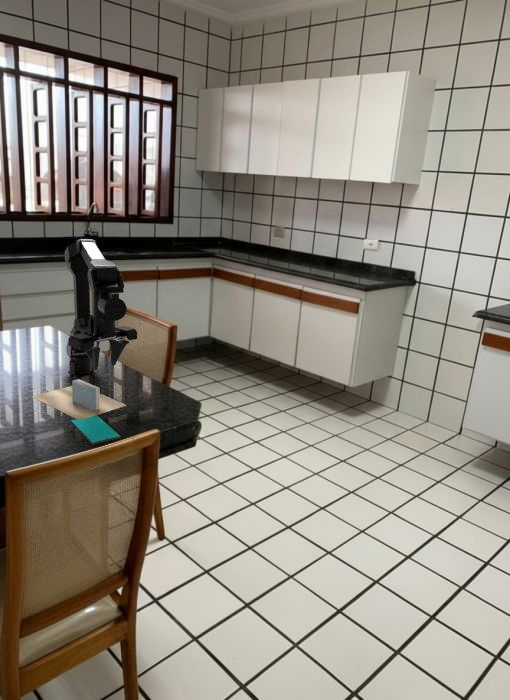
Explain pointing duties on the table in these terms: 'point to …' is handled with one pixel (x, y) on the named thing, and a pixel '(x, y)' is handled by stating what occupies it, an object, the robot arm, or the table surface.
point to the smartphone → (95, 430)
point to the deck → (86, 395)
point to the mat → (64, 403)
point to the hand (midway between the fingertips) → (104, 367)
